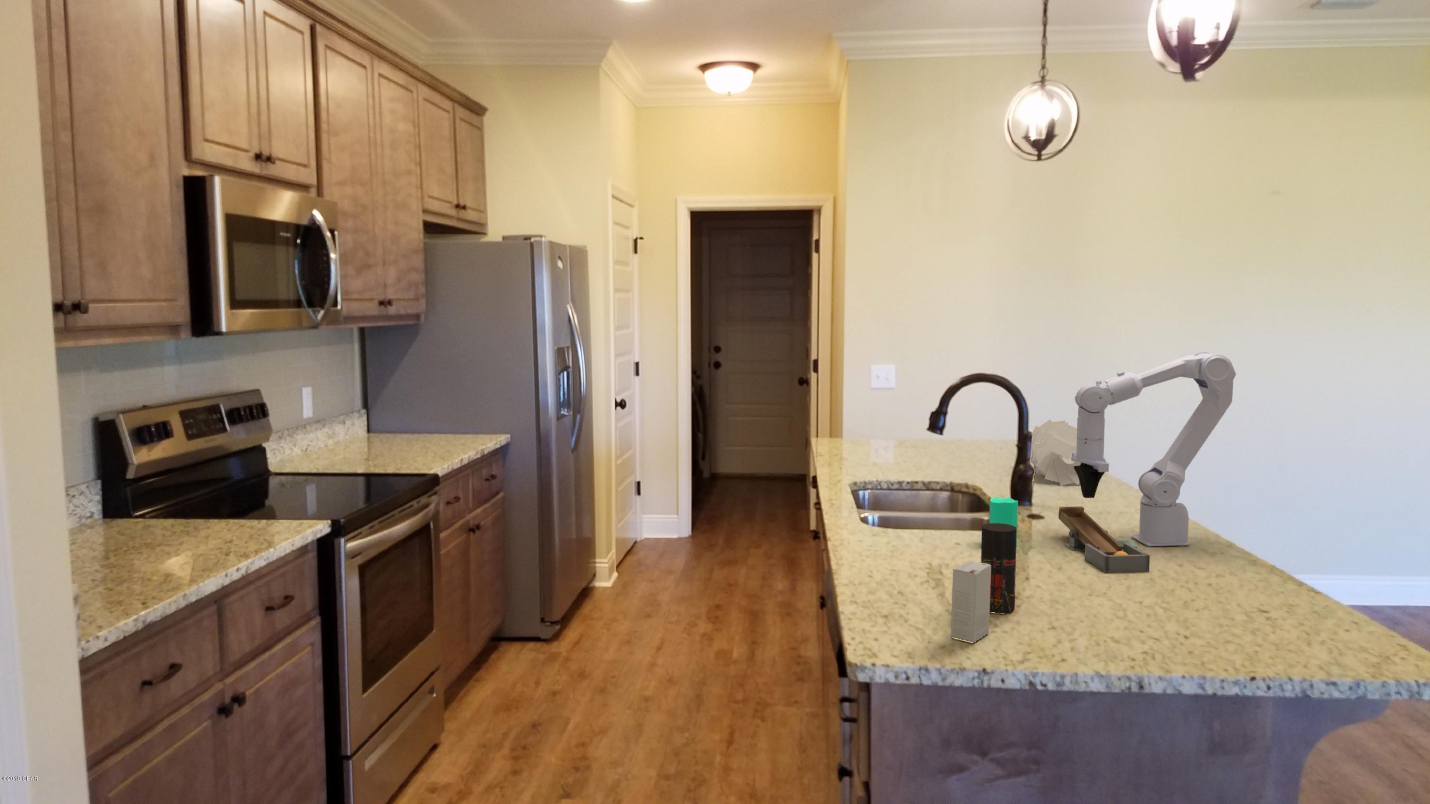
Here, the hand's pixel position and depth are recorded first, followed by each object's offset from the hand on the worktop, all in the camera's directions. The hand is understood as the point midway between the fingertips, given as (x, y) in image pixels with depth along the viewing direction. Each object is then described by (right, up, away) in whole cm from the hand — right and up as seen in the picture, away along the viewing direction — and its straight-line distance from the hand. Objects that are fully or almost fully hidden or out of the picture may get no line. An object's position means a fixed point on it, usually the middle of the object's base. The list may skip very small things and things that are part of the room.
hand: (1088, 497), depth 205 cm
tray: (-2, -12, -18) cm, 22 cm away
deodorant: (-34, -16, -42) cm, 57 cm away
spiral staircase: (+19, -2, +68) cm, 70 cm away
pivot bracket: (-2, -11, -5) cm, 12 cm away
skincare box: (-43, -17, -56) cm, 72 cm away
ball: (-2, -11, -20) cm, 23 cm away
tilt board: (0, -8, -5) cm, 9 cm away
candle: (-20, -11, -2) cm, 23 cm away
